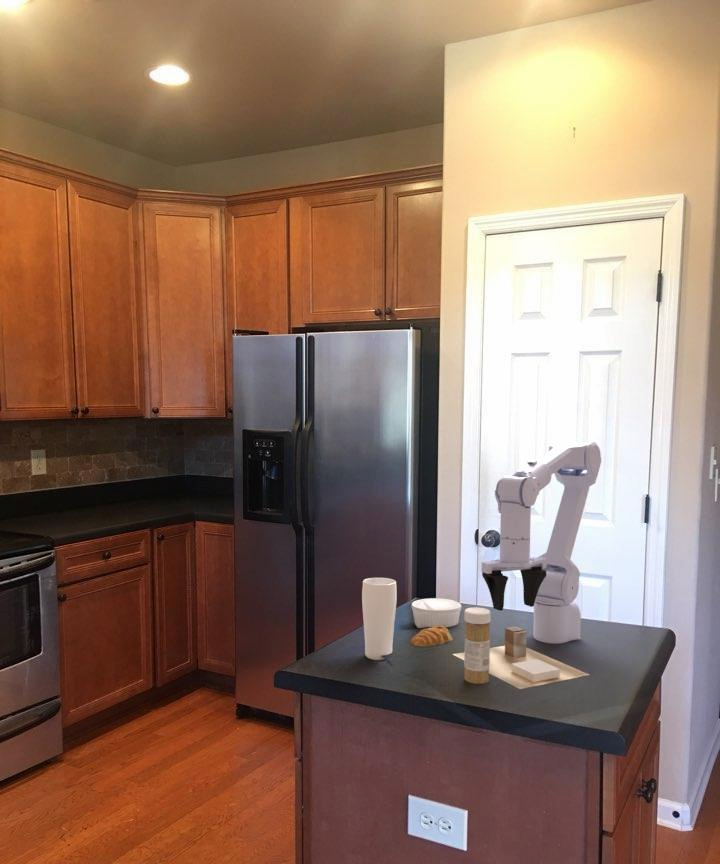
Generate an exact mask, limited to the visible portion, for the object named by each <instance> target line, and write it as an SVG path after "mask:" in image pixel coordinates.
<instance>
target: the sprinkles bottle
mask: <svg viewBox="0 0 720 864" xmlns="http://www.w3.org/2000/svg"><path fill="white" fill-rule="evenodd" d="M491 614H492V613H491V610H489V609H488V608H485V607H468V608H465V610H464V619H463V621H464V623H465V627H464V628H465V629H464V648H463V649H464V652H463V653H464V660H463V662H464V663H463V665H464V680H465V681H466V682H468V683H470V684H474V685H475V684H476V685H477V684H478V685H480V684H481V685H482V684H486V683H488V682H490V679H489V678H490V674H489V668H490V648H491V638H490V634H491V633H490V624H491V622H492V621H491V619H492V618H491V616H492V615H491Z"/></svg>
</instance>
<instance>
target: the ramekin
mask: <svg viewBox="0 0 720 864" xmlns="http://www.w3.org/2000/svg"><path fill="white" fill-rule="evenodd" d="M410 606H411V610H412V614H413V619H414V624H415V626H416V628H418V629H425V628H432V627H433V626H443V627H445V628H450V627H455V626H456V625H459V619H460V614H461V611H462V604H461V603H460V602H458V601H456V600H452V599H448V598H441V597H440V598H435V597H433V598H432V597H431V598H422V599H416V600H414V601H412V602H411V605H410Z"/></svg>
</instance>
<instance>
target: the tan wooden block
mask: <svg viewBox="0 0 720 864" xmlns="http://www.w3.org/2000/svg"><path fill="white" fill-rule="evenodd" d="M504 646H505V654H507V655H510V656H512V657H514V658H520V657H525V656H526V648H527V631H525V629H523V628H521V627H518V626H510V627H509V626H508V627H505V628H504Z"/></svg>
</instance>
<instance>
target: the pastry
mask: <svg viewBox="0 0 720 864" xmlns="http://www.w3.org/2000/svg"><path fill="white" fill-rule="evenodd" d="M451 641H453V637H452V635H451V634H450V633H449V629H448V628H447V627H443V626H433V627H427V628H422V629H420V631H419V632H418V633H417V634H415V635H414V636H413V637H412V638H411V639H410V642H409V643H410V644H411V645H412V646H415V647H419V648H420V647H422V648H423V647H425V648H426V647H432V646H436V645H443V644H445V643H449V642H451Z"/></svg>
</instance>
